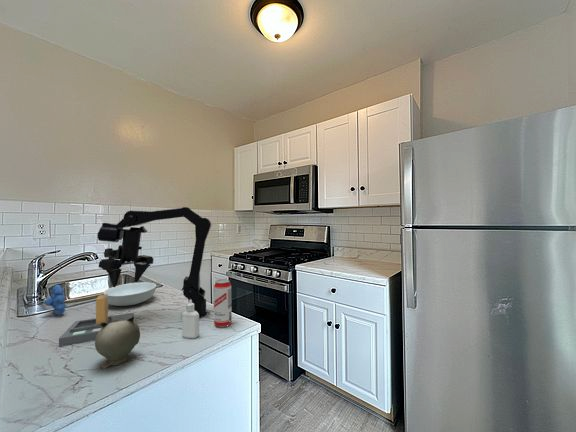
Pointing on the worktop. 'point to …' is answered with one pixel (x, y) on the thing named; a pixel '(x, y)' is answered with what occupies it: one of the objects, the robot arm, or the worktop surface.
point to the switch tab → (102, 309)
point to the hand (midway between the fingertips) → (125, 284)
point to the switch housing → (86, 330)
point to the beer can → (222, 303)
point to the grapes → (57, 300)
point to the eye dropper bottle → (190, 322)
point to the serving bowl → (130, 293)
